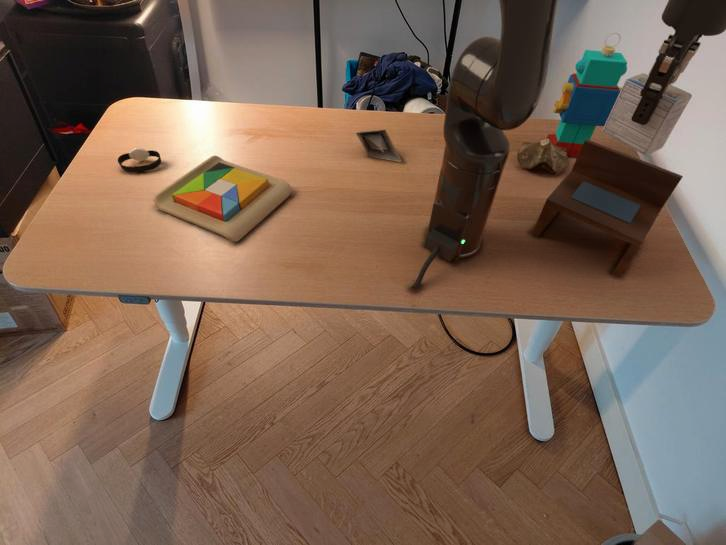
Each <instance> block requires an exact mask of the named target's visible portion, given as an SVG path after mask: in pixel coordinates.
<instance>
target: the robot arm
mask: <svg viewBox="0 0 726 545" xmlns="http://www.w3.org/2000/svg"><path fill="white" fill-rule="evenodd" d="M559 1H560V0H498V2H499V8H500V20H501V24H500V26H501V28H500V38H497V37H495V36H481V37H478V38H476V39H475V40H472V42H470V43H469V44H468V45H467V46H466V47H465V48H464V49H463V51H462V52H461V54H460V55H459V57H458V58H457V61H456V63H455V65H454V67H453V69H452V72H451V77H450V81H449V86H448V90H447V98H446V106H445V112H444V113H445V114H444V120H443V138H444V143H445V146H444V152H443V155H442V160H441V167H440V170H439V177H438V181H437V186H436V191H435V196H434V201H433V204H432V208H431V209H432V210H431V214H430V219H429V224H428V229H427V233H426V236H425V241H424V247H423V248H424V249H426V250H428V251H429V252H431V253H430V255H429V256H428V257H427V259H426V260H425V262H424V263H423V265H422V267H421V268H420V270H419V272H418V275H417V277H416V279H415V281H414V283H413V284H412V285H411V290H413V291H416V290H417V289H418V288H419V287H420V285H421V283H422V281H423V279H424V276H425V274H426V272H427V271H428V269H429V267H430V266H431V264H432V262H433V261H434V260H435V258H436V257H437V256H438V257H440V258H442V259H444V260H446V261H447V262H451V261H453V262H456V261H458V260H459V259H464V258H469V257H472V256H474V255H475V254H476V253H477V252H478V251H479V250H480V247H481V244H482V240H483V236H484V233H485V230H486V227H487V223H488V220H489V217H490V214H491V211H492V207H493V204H494V201H495V199H496V198H495V197H496V195H497V192H498V189H499V185H500V182H501V179H502V177H503V173H504V170H505V166H506V163H507V160H508V157H509V154H510V142H509V139H508V138H507V136H506V134H505V132H504V131H512V130H515V129H517V128H519V127H521V126H522V125H523V124H524V123H526V121H527V120H528V119H529V118H530V117H531V116H532V114H533V112H534V111H535V110H536V108H537V107H538V104H539V102H540V100H541V97H542V95H543V92H544V89H545V86H546V82H547V76H548V70H549V65H550V64H549V63H550V58H551V50H552V44H553V36H554V29H555V23H556V18H557V17H556V16H557V12H558V5H559ZM661 21H662V23H664V24H665V25H666V26H668V27H671V28H672V29H673V30H674V34H671V33H670V34H669V35H668V37H667V39H664V40H663V41H662V44H661V46H660V48H659V49H658V54H657V56H656V58H655V61H654V63H653V64H652V67H651V69H650V70H649V72H648V75H649V77H648V79H647V81H646V83H645V85H644V88H643V89H642V90H641V92H640V93H641V94H640V96H642V98H641V100H640V102H639V104H638V106H637V108H636V110H635V112H634V114H633V116H632V118H631V120H632V121H633V122H636V123H638V124H641V125H646V124H647V123H648V122H649V120H650V118H651V116H652V114H653V112H654V111H655V109H656V107H657V105H658V103H659V101H660V100H661V99H663V97H664V94H665V92H666V90H667V88H668V87H669V85H674V84H676V82H677V80H678V79H679V77H680V75H681V74H682V73H684V71H685V70H686V69H687V67H688V65H689V63H690V62H691V61H692V59H693V58H694V56H695V55H696V53H697V52H698V50H699V48H700V47H701V45H702V42H700V41H699V40H700V38H702V37H703V36H704V37H713V36H718V35H721V34H723V33H724V32H725V31H726V0H668V1H667V3H666V5H665V7H664V10H663V11H662V14H661ZM653 83H655V84H658V85H661V89H660V91H659V90H656V89H653V88H650V87H651V86H652V84H653Z"/></svg>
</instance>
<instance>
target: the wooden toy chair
mask: <svg viewBox="0 0 726 545" xmlns="http://www.w3.org/2000/svg"><path fill="white" fill-rule="evenodd" d="M571 168H572V169H571V170H570V171H569V172H568V174H566V176H565V177H564V178H563V179H562V181H560V183H559V184H558V185H557V186H556V187H555V189H554V190H553V191H552V192H551V193H550V195H549V196H548V197H547V198H546V200H545V202H544V205H543V207H542V209H541V212H540V214H539V215H538V219H537V221H536V224H535V226H534V228H533V231H532V235H534V236H536V237H539V236H540V235H541V234H542V233H543V231H545V229H546V228H547V227H548V225H549V224H550V223H551V221H553V219H554V218H555V216H556V215H557V214H558V213H559V212H561V213H563V214H565V215H567V216H569V217H571V218H574V219H577V220H578V221H580V222H582V223H585V224H587V225H589V226H591V227H593V228H595V229H598V230H600V231H602V232H605V233H606V234H609V235H611V236H613V237H615V238H618V239H619V240H622V241H624V242H627V243H628V244H629V245H628V247H627V249H626V250H625V252H624V254H623V255H622V257H621V259H620V261H619V262H618V264H617V265H616V267H615V269H614V271H613V273H612V274H614V275H616V276H618V277H621V276H622V275H623V273H624V272H625V270H626V269H627V267H628V265H629V264H630V262H631V261H632V260H633V258H634V257H635V255H636V253H637V252H638V250H639V249H640V247H641V246H642V244H643V243H644V241H645V239H646V237H647V236H648V234H649V233H650V231H651V229H652V228H653V225H654V223H655V222H656V220H657V218H658V217H659V214H660V212H661V211H662V210H663V208H664V206H665V204H666V203H667V202H668V200H669V198H670V197H671V196H672V194H673V192H674V191H675V190H676V188H677V186H678V185H679V184H680V182H681V181H682V179H683V177H684V176H683V175H682V174H679V173H676V172H673V171H671V170H669V169H666V168H662V167H660V166H658V165H655V164H653V163H650V162H647V161H645V160H642V159H640V158H637V157H634V156H631V155H630V154H628V153H624V152H621V151H619V150H616V149H613V148H611V147H608V146H606V145H603V144H601V143H598V142H596V141H592V140H591V139H590V140H587V139H586V140H585V141H584V143H583V146H582V148H581V150H580V152H579V155H578V157H576V159H575V162H574V163H573V166H572V167H571Z"/></svg>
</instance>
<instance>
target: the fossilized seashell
mask: <svg viewBox="0 0 726 545" xmlns="http://www.w3.org/2000/svg"><path fill="white" fill-rule="evenodd" d="M566 151H567V149H566V148H562V147H558V146H556V145H553V144H552V142H551V141H550V140H549V139H547V138H543V139H542V140H540V141H537V142H529V141H523V142H522V146H521V147H520V148H519V149H518V151H517V153H516V159H517V161H518V164H519V166H521V168H523V169H525V170H532V169H537V168H540V167H542V168H543V169H545V170H546V171H548V172H549V173H551V174H555V175H558V174H561V173H563V172H564V171H565V170H566V169H567V168H568V166H569V163H570V161H569V156H567V153H566Z"/></svg>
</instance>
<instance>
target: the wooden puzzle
mask: <svg viewBox="0 0 726 545" xmlns="http://www.w3.org/2000/svg"><path fill="white" fill-rule="evenodd" d="M291 194H292V186H291V184H290V183H289V182H287V180H284V179H281V178H278V177H274V176H272V175H268V174H266V173H263V172H261V171H260V172H259V171H257V170H254V169H251V168H248V167H244V166H241V165H238V164H235V163H233V162H230V161H226V160H225V159H223V158H222V157H221V156H219V155H212V156H210V157H209V158H207V159H206V160H204V161H202V162H201V163H199V164H198V165H197V166H195V167H194V168H193V169H191V170H190V171H188V172H187V173H185V174H183V175H182V176H181V177H179V178H178V179H176V180H175V181H174V182H172V183H171V184H170V185H168V186H166V187H165V188H163V189H162V190H161V191H159V192H157V193H156V194H155V195H154V197H153V203H154V206H155V208H157V209H158V210H160V211H161V212H163V213H167V214H169V215H172V216H174V217H176V218H178V219H181V220H183V221H186V222H188V223H191V224H194V225H196V226H199V227H201V228H203V229H206V230H209V231H211V232H213V233H216V234H217V235H220V236H223V237H224V238H226V239H227V240H228V241H231V242H239V241H241V239H242V238H243V237H245V236H246V235H247V234H248V233H250V232H251V231H252V230H253V229H254V228H255V227H257V225H259V223H260V222H262V221H263V220H265V219H266V217H267V216H269V215H270V214H271V213H272V212H273V211H275V209H276V208H278V207H279V206H280V205H281V204H282V203H283V202H284V201H286V200H287V199H288V197H289V196H291Z"/></svg>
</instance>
